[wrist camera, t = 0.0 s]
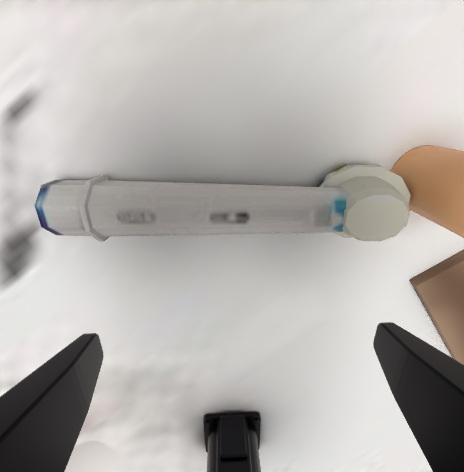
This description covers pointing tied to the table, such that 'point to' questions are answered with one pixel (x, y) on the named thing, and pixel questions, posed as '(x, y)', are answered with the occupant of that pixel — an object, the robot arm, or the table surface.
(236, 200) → the grey cylindrical tool
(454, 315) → the jig
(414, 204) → the ball
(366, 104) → the table surface
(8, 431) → the robot arm
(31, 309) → the table surface
